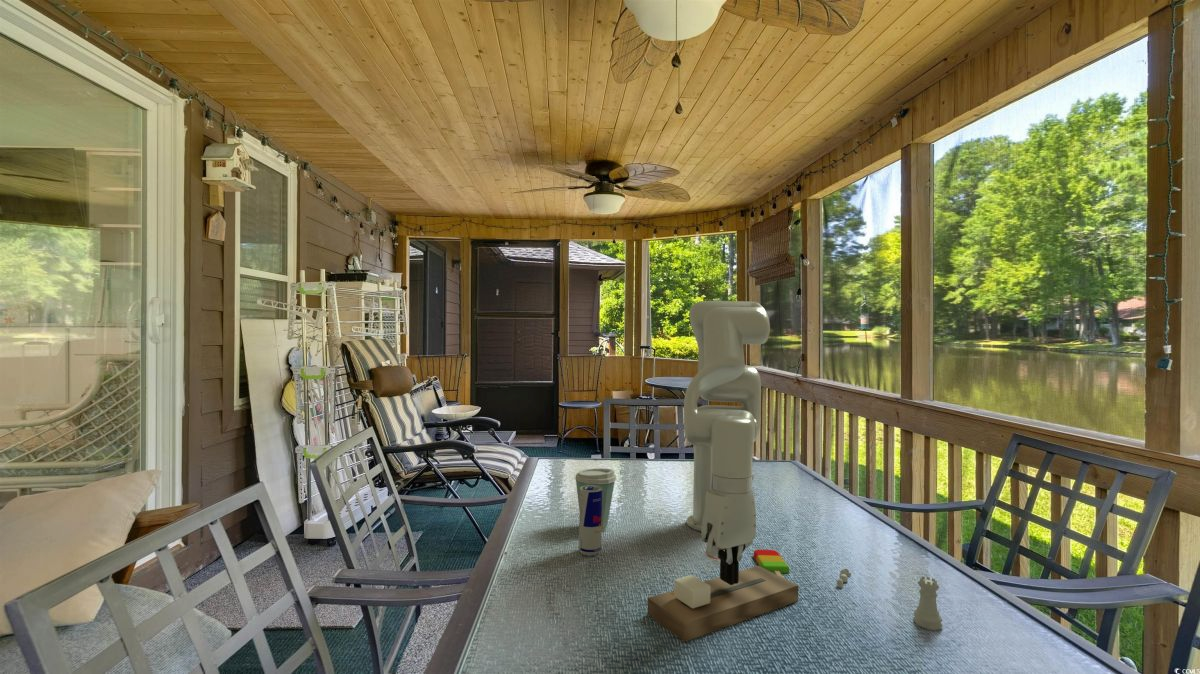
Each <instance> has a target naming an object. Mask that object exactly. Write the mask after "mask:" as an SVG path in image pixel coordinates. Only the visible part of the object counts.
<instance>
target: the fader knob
mask: <svg viewBox="0 0 1200 674" xmlns="http://www.w3.org/2000/svg"><path fill="white" fill-rule="evenodd" d="M673 590H674V597H676V598H677V599H679V600H680V601H682V602H683V603H685V604H686V605H688V606H690V607H691V608H696V607H699V606H702V605H705V604H708V603H710V585H708V584H707V583H705V582H704V581H703V580H702V579H700V578H698V577H697V576H695V575H692V574H690V575H686V576H682V577H678V578H675V579H674V585H673Z"/></svg>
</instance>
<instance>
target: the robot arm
mask: <svg viewBox="0 0 1200 674" xmlns="http://www.w3.org/2000/svg"><path fill="white" fill-rule="evenodd" d="M689 324H690V327H691V330H692V332H693V335H694V337H695V341H696V344H697V348H698V352H697V353H698V359H697V373H696V374H695V375H694V377H693V378H692V379H691V380H690V383H689V384H688V386H687V387H686V391H685V394H684V400H683V430H684V431H683V432H684V437H685V439H686V441H687V442H688V443H689V444H691V445H693V491H692V492H693V494H692V496H693V500H692V503H693V504H692V514H691V515H689V516H688V517H687V519H686V524H687V525H688V527H690V528H691V529H693V530H695V531H698V532H701V534H700V535H701V536H700V538H701V541H702V542H703V543H705V544H706V543H707V544H706V547H705V553H706V554H707V555H709V556H712V557H717V559H718V560H719V577H720V579H721V580H723V581H724V582H726V583H728V584H730V585H734V584H737V583H738V581H739V571H740V562H741V561H742V559H743V553H744V552H745V550H746V549H747V548H749V547H750V546H753V543H754V542H753V541H754V540H755V538H756V534H757V533H756V532H757V510H756V508H757V507H756V501H755V493H754V490H753V481H754V478H755V477H754V474H753V457H754V455H753V454H754V452H753V450H754V443H755V442H756V441H757V440H758V438H759V437H760V436H759V435H760V427H761V407H762V406H761V402H762V401H761V400H762V382H761V376H760V373H759V371H758V370H757V369H756V367H753V366H750V365H746V363H745V362H746V361H745V355H744V354H745V353H744V345H763V344H765V343H767V341H768V340H769V337H770V331H771V325H770V324H771V323H770V318H769V315H768V313H767V311H766V309H765V308H764V307H763V306H762V305H761V304H760V303H759V302H756V301H749V300H748V301H747V300H746V301H745V300H741V301H740V300H739V301H738V300H704V301H698V302H695V303H693V304H692V305H691V306H690V309H689ZM700 397H701V399H703V400H705V401H709V402H719V403H720V402H723V403H740V404H741V405H742V406H739V405H718V404H717V405H712V404H709V405H708V404H707V405H701V406H698V400H699V398H700Z"/></svg>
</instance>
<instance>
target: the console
mask: <svg viewBox="0 0 1200 674" xmlns="http://www.w3.org/2000/svg"><path fill="white" fill-rule="evenodd" d="M703 582H705V583H707V584H708V585H710V603H708V604H705V605H702V606H699V607H696V608H691V607H690V606H688V605H686V604H685V603H683V602H682V601H680V600H679V599H677V598H676V597H674V589H673V590H670V591H666V592H664V593H660V594H657V595H653V596H648V597H647V615H648V616H649V617H650V618H652V619H653V620H655V622H657V623H658V624H659V625H661V626H662V627H663V628H665V629H666V630H667V631H668V632H670V633H671V634H673V635H674V636H675V637H677V638H678V639H679V640H681V641H682V642H683V643H684V642H688V641H691V640H693V639H696V638H699V637H701V636H705V635H707V634H710V633H713V632H715V631H718V630H721V629H723V628H727V627H729V626H732V625H735V624H738V623H741V622H744V621H746V620H749V619H752V618H754V617H755V618H756V617H758V616H760V615H763V614H766V613H769V612H771V611H774V610H777V609H779V608H782V607H783V608H784V607H786V606H787V605H792V604H794V603H796V602H798V601H799V584H797V583H795V582H792V581H791V580H789V579H787V578H785V577H783V578H782V577H780V576H778V575H776V574H775V573H772V572H770V571H768V570H766V569H764V568H762V567H760V566H759V565H755V566H753V567H749V568H745V569H743V570H742V569H741V570H739V581H738V583H737V584H734V585H730V584H728V583H726V582H724V581H723V580H721V579H720V576H718V577H715V578H711V579H708V580H705V581H703Z"/></svg>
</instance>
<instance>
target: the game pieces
mask: <svg viewBox="0 0 1200 674" xmlns="http://www.w3.org/2000/svg"><path fill="white" fill-rule="evenodd" d="M851 576H852V572H850V570H849V569H848V568H843V569H841V570H840V575H839V578H838V580H836V587H837V588H839V589H844V583H847V582H848V581H849V577H851Z"/></svg>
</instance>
